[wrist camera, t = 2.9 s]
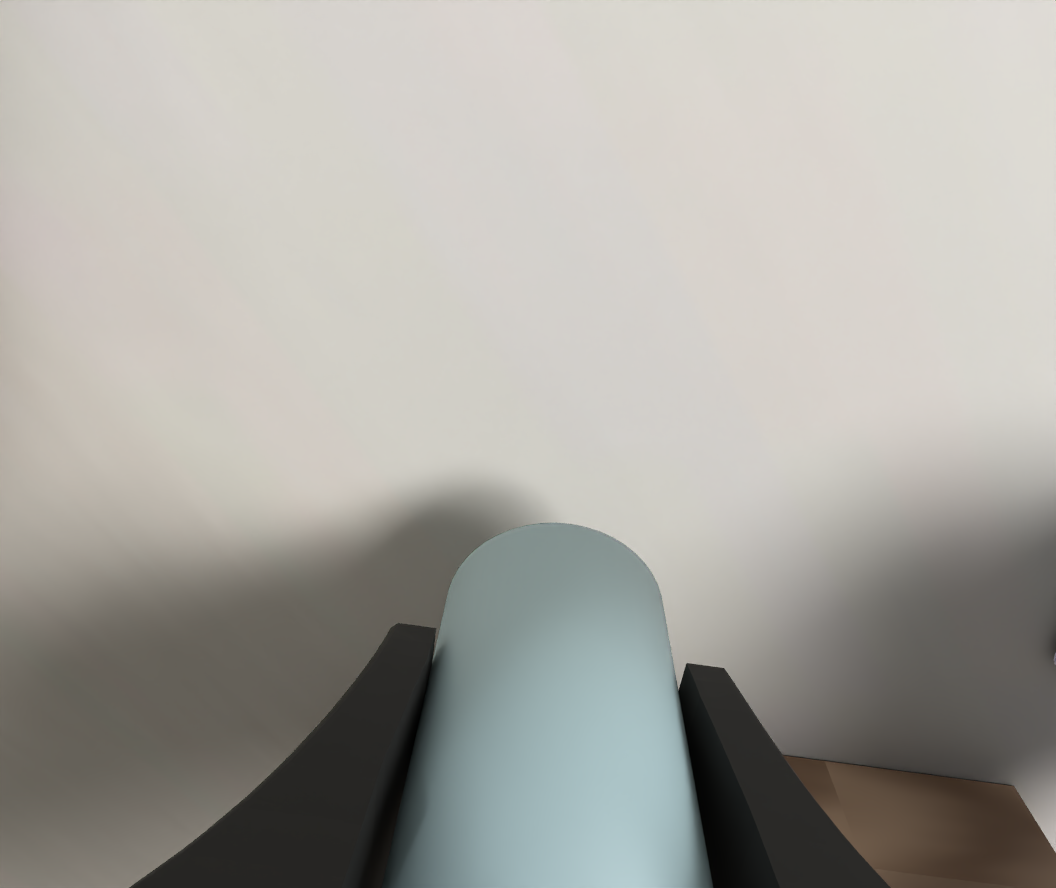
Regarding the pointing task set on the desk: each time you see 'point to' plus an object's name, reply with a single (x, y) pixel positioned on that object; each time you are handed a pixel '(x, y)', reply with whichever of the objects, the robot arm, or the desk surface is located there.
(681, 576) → the desk surface
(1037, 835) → the socket board
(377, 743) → the robot arm
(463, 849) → the peg
